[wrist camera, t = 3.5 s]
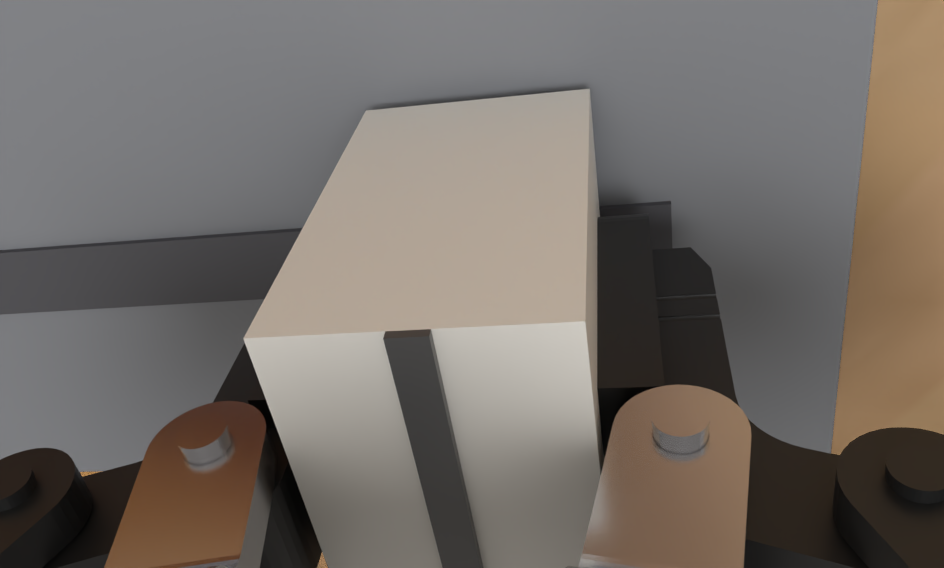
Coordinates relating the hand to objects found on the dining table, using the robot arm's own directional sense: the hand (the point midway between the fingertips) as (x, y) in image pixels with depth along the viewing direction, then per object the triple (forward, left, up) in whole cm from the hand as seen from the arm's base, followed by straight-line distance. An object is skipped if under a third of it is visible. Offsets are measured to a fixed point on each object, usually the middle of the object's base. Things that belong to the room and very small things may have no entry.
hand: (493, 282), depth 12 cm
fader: (0, 0, -1) cm, 1 cm away
